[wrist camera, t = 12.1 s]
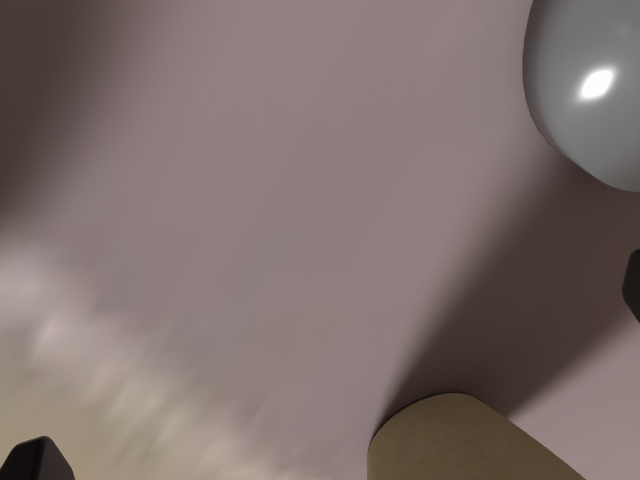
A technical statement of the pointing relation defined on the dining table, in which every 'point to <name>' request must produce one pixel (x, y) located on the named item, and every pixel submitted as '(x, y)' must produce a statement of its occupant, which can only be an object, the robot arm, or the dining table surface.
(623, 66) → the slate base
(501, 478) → the plant pot
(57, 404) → the dining table surface
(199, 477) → the dining table surface
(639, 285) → the robot arm
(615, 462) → the dining table surface
